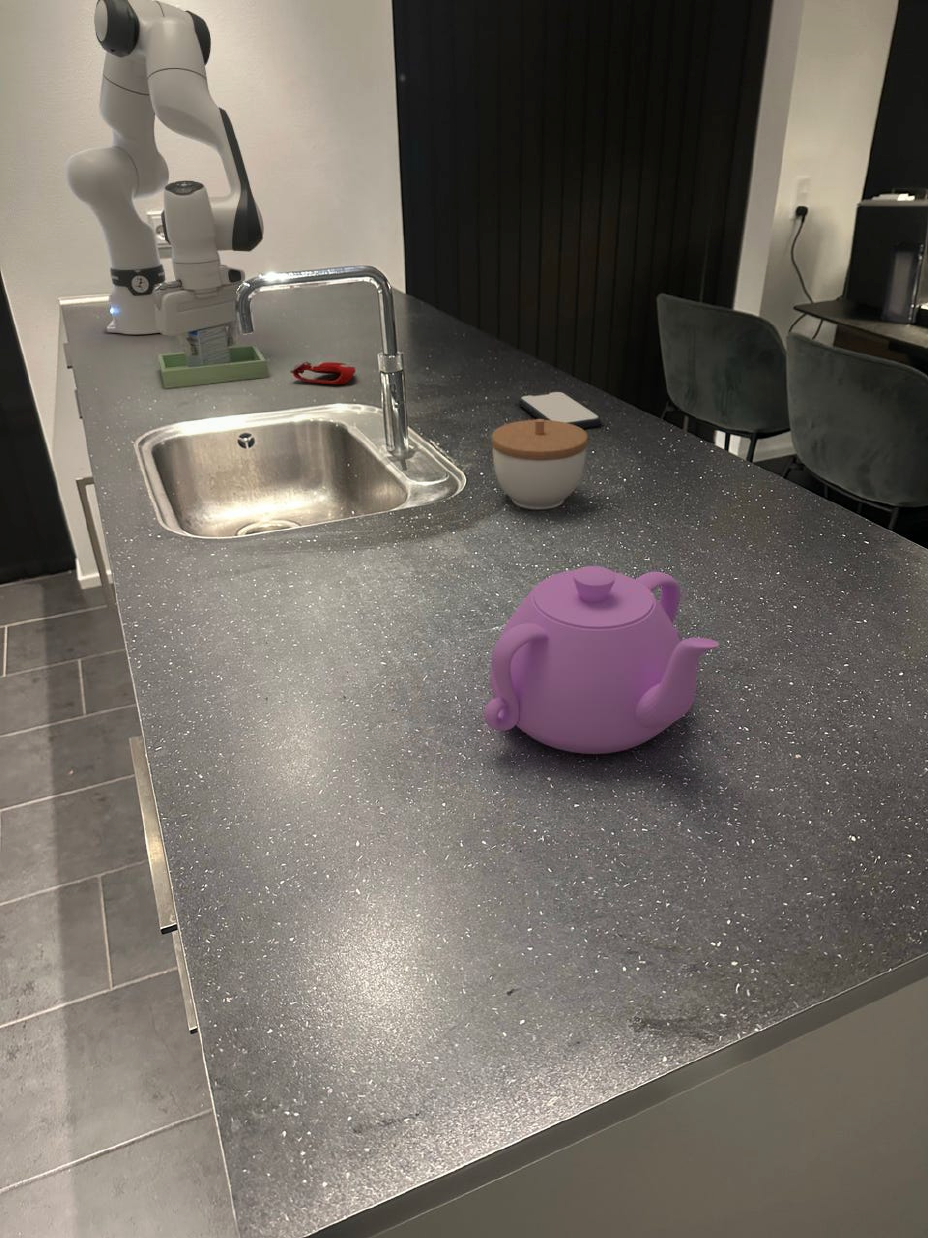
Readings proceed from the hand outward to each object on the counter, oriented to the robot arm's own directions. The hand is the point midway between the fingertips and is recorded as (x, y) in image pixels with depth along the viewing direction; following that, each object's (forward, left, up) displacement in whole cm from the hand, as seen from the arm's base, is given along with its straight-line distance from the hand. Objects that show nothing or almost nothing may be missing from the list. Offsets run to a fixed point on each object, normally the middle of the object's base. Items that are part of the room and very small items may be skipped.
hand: (210, 349), depth 179 cm
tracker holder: (+14, +20, -5) cm, 24 cm away
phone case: (+52, +52, -5) cm, 73 cm away
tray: (0, 0, -5) cm, 5 cm away
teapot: (+132, +19, -5) cm, 133 cm away
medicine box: (-1, -1, -4) cm, 4 cm away
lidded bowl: (+84, +34, -5) cm, 90 cm away
